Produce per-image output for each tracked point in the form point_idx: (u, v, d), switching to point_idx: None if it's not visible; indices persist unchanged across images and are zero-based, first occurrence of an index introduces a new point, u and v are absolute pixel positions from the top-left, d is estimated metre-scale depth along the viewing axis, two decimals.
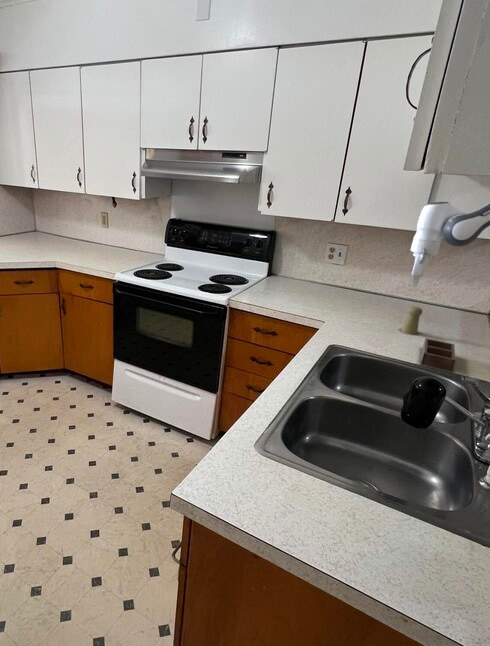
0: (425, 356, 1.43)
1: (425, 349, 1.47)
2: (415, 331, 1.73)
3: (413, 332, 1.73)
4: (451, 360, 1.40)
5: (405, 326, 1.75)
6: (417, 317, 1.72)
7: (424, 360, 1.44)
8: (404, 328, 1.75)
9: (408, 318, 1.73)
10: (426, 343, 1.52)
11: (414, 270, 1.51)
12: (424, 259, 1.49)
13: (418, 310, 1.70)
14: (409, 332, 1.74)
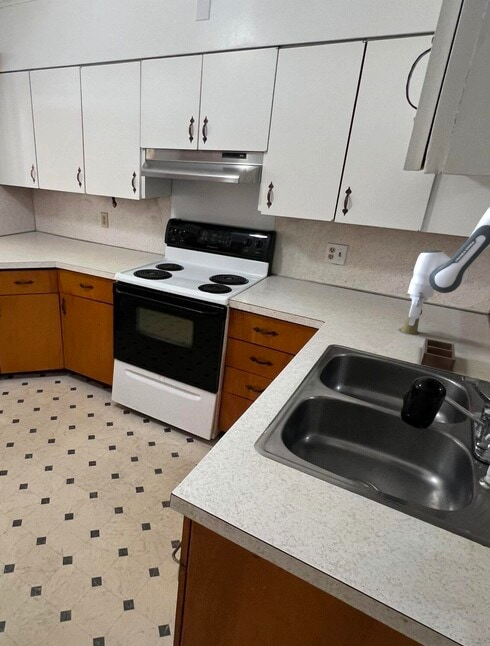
0: (425, 356, 1.43)
1: (425, 349, 1.47)
2: (415, 331, 1.73)
3: (413, 332, 1.73)
4: (451, 360, 1.40)
5: (405, 326, 1.75)
6: None
7: (424, 360, 1.44)
8: (404, 328, 1.75)
9: (408, 318, 1.73)
10: (426, 343, 1.52)
11: (411, 312, 1.65)
12: (420, 303, 1.63)
13: None
14: (409, 332, 1.74)
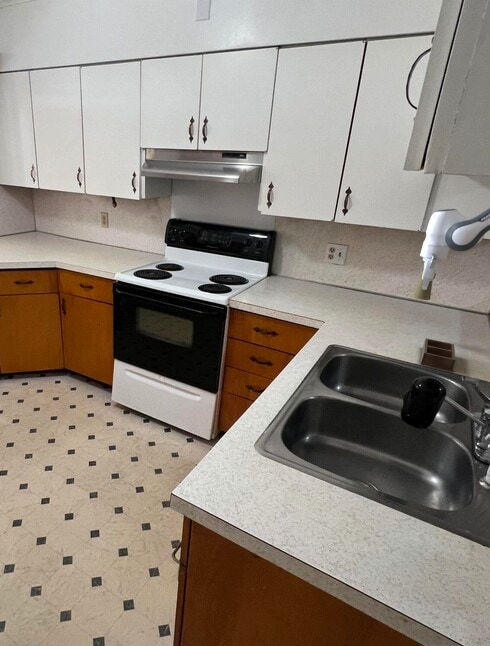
0: (425, 356, 1.43)
1: (425, 349, 1.47)
2: (428, 296, 1.66)
3: (426, 297, 1.66)
4: (451, 360, 1.40)
5: (418, 291, 1.67)
6: (430, 281, 1.65)
7: (424, 360, 1.44)
8: (416, 293, 1.68)
9: (421, 282, 1.66)
10: (426, 343, 1.52)
11: (424, 274, 1.58)
12: (434, 264, 1.56)
13: None
14: (422, 297, 1.66)
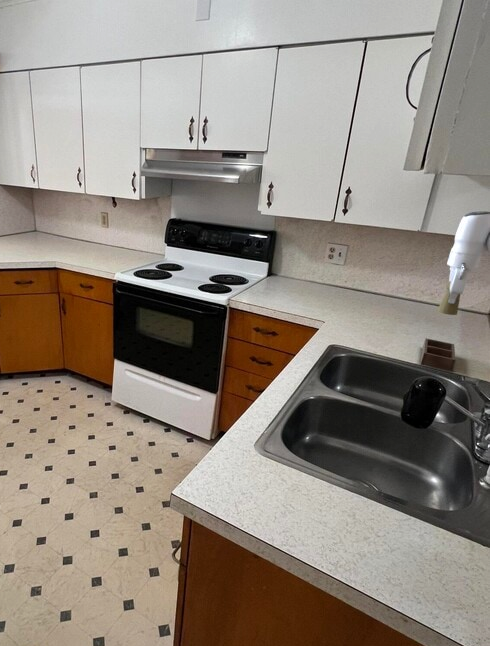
0: (425, 356, 1.43)
1: (425, 349, 1.47)
2: (455, 310, 1.46)
3: (453, 311, 1.46)
4: (451, 360, 1.40)
5: (443, 304, 1.47)
6: None
7: (424, 360, 1.44)
8: (442, 307, 1.48)
9: (447, 295, 1.46)
10: (426, 343, 1.52)
11: (453, 287, 1.38)
12: (464, 275, 1.36)
13: None
14: (448, 311, 1.46)
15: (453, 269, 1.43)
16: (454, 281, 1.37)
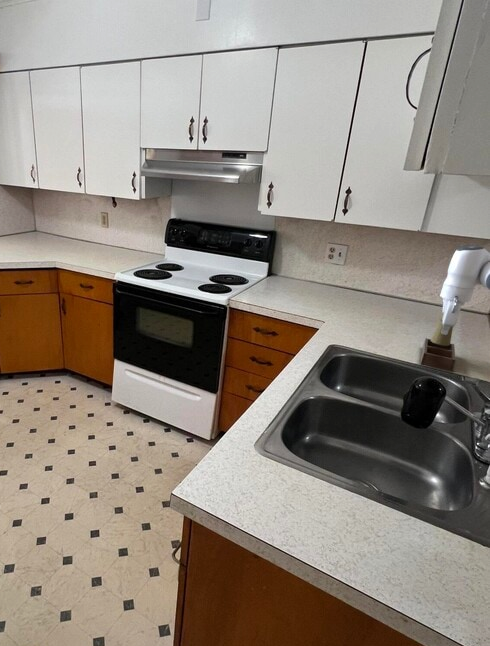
0: (425, 356, 1.43)
1: (425, 349, 1.47)
2: (448, 341, 1.48)
3: (446, 342, 1.48)
4: (451, 360, 1.40)
5: (436, 335, 1.50)
6: None
7: (424, 360, 1.44)
8: (435, 337, 1.50)
9: (440, 326, 1.48)
10: (426, 343, 1.52)
11: (445, 320, 1.40)
12: (457, 308, 1.38)
13: None
14: (441, 342, 1.49)
15: (446, 301, 1.45)
16: (447, 314, 1.39)
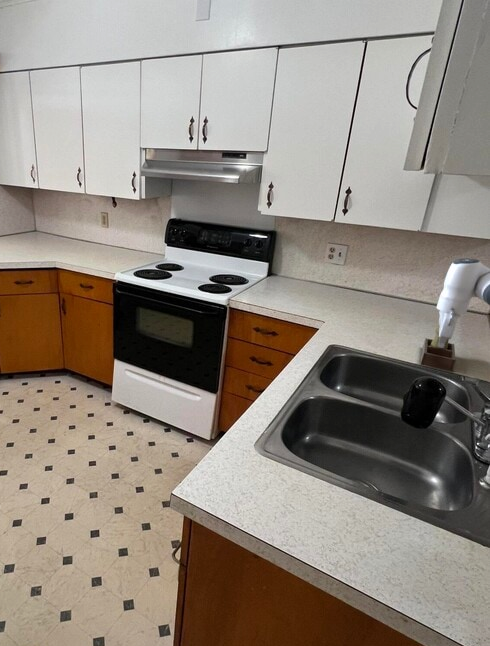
0: (425, 356, 1.43)
1: (425, 349, 1.47)
2: None
3: None
4: (451, 360, 1.40)
5: None
6: None
7: (424, 360, 1.44)
8: None
9: (436, 338, 1.50)
10: (426, 343, 1.52)
11: (442, 332, 1.41)
12: (453, 321, 1.39)
13: None
14: None
15: (442, 313, 1.46)
16: (443, 327, 1.41)
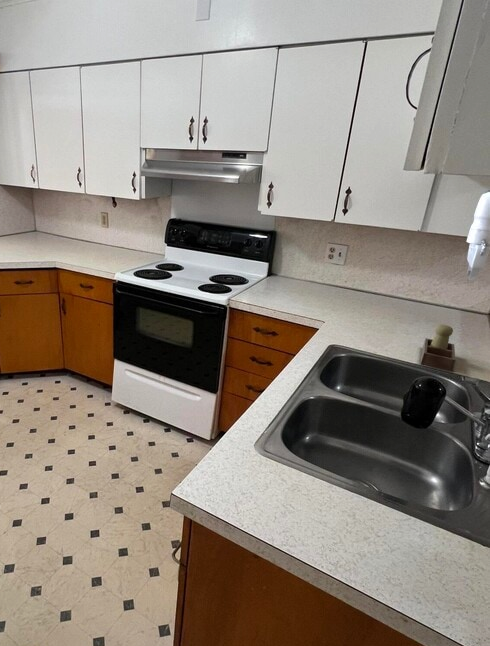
0: (425, 356, 1.43)
1: (425, 349, 1.47)
2: None
3: None
4: (451, 360, 1.40)
5: None
6: (447, 337, 1.48)
7: (424, 360, 1.44)
8: None
9: (436, 338, 1.50)
10: (426, 343, 1.52)
11: (474, 263, 1.40)
12: (485, 250, 1.38)
13: (448, 329, 1.47)
14: None
15: (473, 246, 1.45)
16: (475, 257, 1.40)
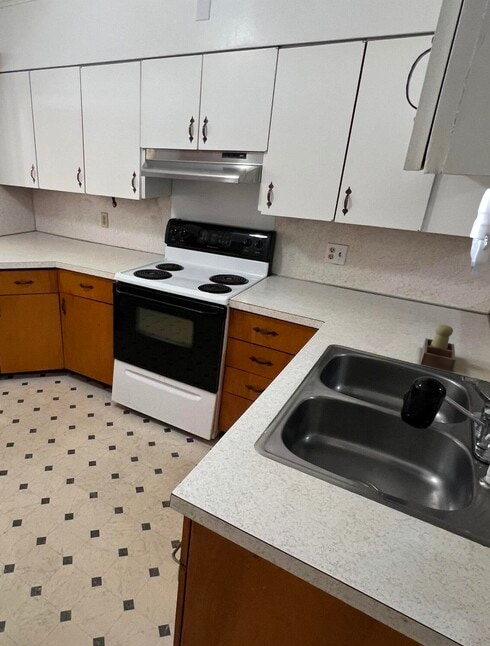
0: (425, 356, 1.43)
1: (425, 349, 1.47)
2: None
3: None
4: (451, 360, 1.40)
5: None
6: (447, 337, 1.48)
7: (424, 360, 1.44)
8: None
9: (436, 338, 1.50)
10: (426, 343, 1.52)
11: (476, 257, 1.41)
12: (488, 245, 1.39)
13: (448, 329, 1.47)
14: None
15: (476, 241, 1.46)
16: (478, 252, 1.41)
